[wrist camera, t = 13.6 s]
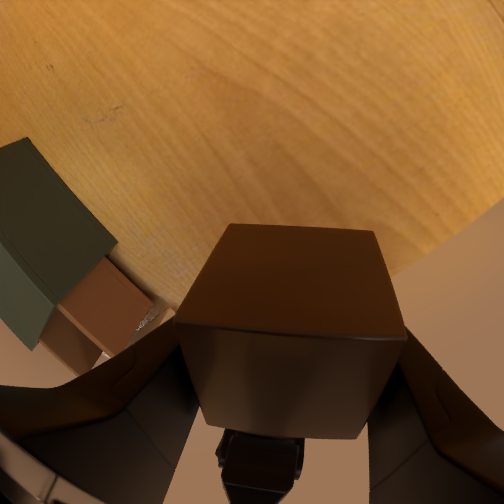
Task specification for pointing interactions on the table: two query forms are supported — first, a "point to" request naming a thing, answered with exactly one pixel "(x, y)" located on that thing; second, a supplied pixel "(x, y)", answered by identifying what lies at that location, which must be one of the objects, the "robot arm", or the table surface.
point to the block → (291, 331)
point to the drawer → (98, 319)
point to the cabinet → (41, 240)
